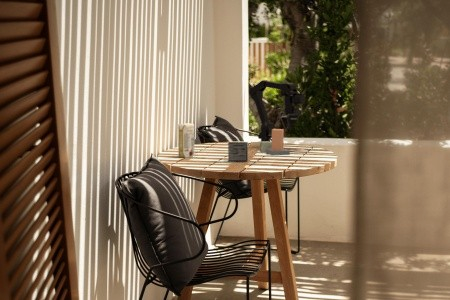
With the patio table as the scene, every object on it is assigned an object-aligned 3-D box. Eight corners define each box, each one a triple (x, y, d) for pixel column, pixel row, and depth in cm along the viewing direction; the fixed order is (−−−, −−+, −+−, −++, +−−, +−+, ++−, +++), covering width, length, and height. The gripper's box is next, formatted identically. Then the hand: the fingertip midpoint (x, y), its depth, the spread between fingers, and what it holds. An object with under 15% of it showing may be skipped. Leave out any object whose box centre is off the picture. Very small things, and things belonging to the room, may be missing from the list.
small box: (247, 160, 437) (248, 141, 436) (247, 162, 431) (247, 143, 429) (229, 160, 438) (229, 141, 437) (227, 161, 432) (227, 142, 430)
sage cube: (259, 151, 475) (259, 141, 474) (268, 151, 477) (268, 141, 476) (262, 152, 469) (262, 142, 469) (271, 152, 471) (271, 142, 470)
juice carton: (196, 156, 451) (196, 123, 449) (185, 158, 445) (185, 124, 443) (187, 155, 457) (186, 122, 454) (176, 156, 450) (176, 124, 448)
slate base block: (265, 153, 467) (265, 148, 467) (283, 153, 470) (283, 148, 470) (272, 156, 457) (272, 151, 456) (289, 155, 460) (289, 150, 459)
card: (290, 150, 479) (290, 149, 479) (303, 149, 481) (303, 149, 481) (295, 151, 472) (295, 151, 472) (307, 151, 474) (307, 150, 474)
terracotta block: (273, 148, 467) (273, 128, 465) (283, 149, 465) (283, 129, 464) (271, 150, 461) (271, 129, 459) (281, 150, 460) (281, 130, 458)
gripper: (306, 104, 467) (306, 130, 469) (295, 102, 485) (295, 127, 487) (289, 104, 464) (288, 131, 466) (278, 102, 482) (278, 128, 484)
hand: (288, 129), depth 476 cm, fingers open, 9 cm apart
